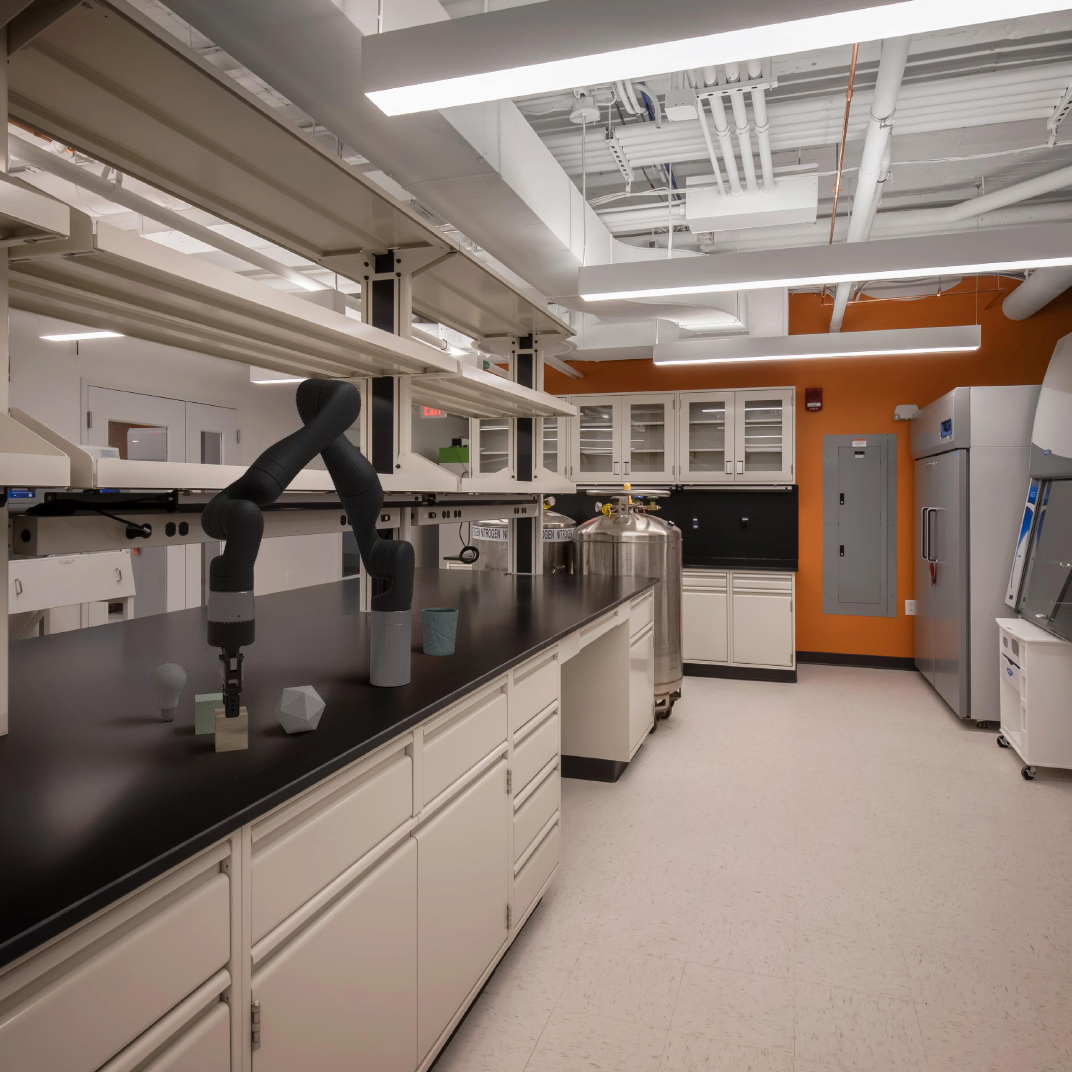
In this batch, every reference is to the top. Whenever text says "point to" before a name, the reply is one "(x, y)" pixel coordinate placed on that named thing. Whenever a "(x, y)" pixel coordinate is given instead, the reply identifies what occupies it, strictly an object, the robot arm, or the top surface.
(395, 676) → the robot arm
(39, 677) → the top surface
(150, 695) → the top surface
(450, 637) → the teal plant pot
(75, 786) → the top surface
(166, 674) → the lightbulb
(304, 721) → the die
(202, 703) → the sage block
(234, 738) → the maple block
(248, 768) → the top surface
